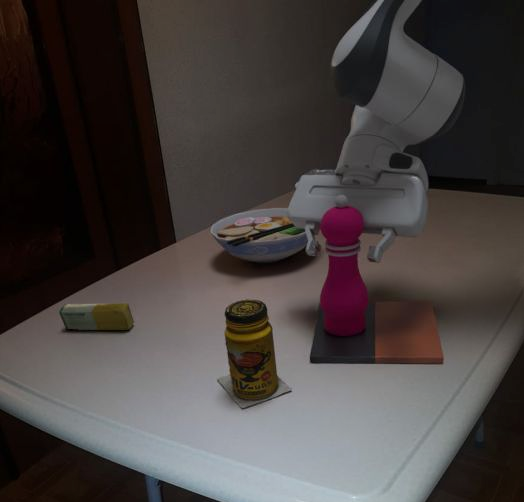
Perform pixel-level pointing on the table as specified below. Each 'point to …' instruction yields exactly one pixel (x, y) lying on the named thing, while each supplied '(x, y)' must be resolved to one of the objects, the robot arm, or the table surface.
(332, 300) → the pepper mill
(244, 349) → the condiment
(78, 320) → the medication box
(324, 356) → the sorting board
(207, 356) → the table surface
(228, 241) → the ramen bowl
